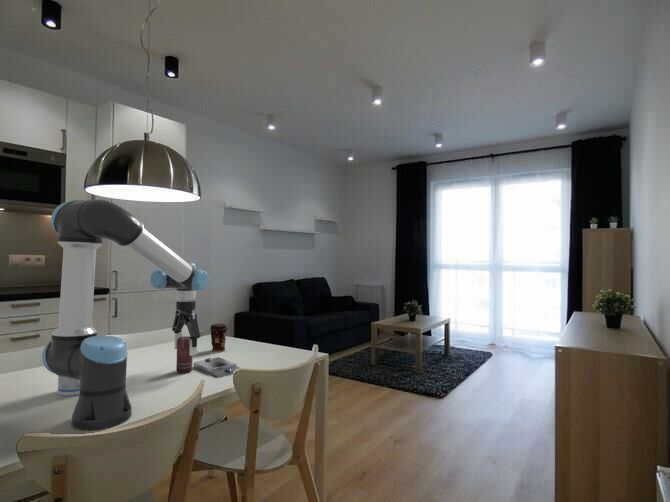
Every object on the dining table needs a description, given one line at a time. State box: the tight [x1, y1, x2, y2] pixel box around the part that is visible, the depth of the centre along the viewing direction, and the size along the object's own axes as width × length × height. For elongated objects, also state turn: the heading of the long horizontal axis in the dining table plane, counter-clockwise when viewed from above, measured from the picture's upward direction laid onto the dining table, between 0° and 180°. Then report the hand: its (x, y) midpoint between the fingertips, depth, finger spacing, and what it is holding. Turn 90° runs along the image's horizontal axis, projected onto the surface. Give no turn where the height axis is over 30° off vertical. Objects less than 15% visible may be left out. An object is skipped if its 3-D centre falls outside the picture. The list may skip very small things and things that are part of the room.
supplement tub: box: [57, 375, 80, 397], centre depth 136 cm, size 10×10×15 cm
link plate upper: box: [193, 356, 237, 372], centre depth 168 cm, size 12×14×3 cm
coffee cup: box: [209, 323, 228, 353], centre depth 197 cm, size 9×8×13 cm
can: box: [175, 336, 194, 375], centre depth 162 cm, size 6×6×14 cm
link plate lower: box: [199, 363, 241, 379], centre depth 164 cm, size 12×14×2 cm
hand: (185, 351), depth 162 cm, fingers open, 13 cm apart
